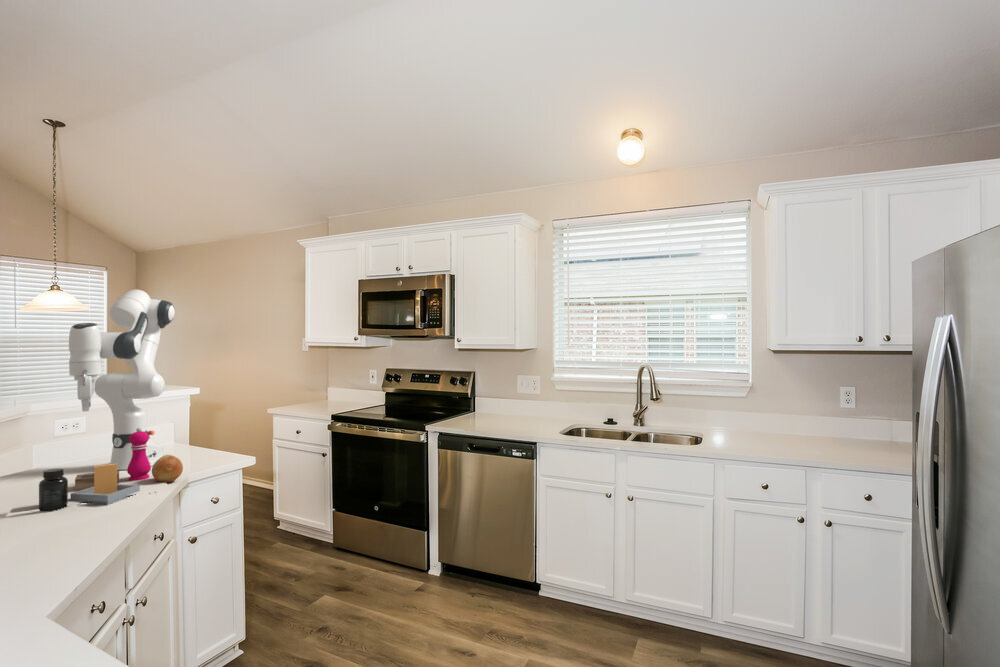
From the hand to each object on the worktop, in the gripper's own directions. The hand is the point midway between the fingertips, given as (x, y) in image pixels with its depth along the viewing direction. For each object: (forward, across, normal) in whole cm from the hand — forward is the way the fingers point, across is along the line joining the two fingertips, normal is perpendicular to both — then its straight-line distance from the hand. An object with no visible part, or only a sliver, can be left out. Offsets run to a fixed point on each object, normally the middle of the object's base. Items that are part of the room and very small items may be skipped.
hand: (86, 409), depth 180 cm
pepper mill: (+29, +4, -15) cm, 33 cm away
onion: (+29, -5, -23) cm, 37 cm away
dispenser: (+29, 0, -3) cm, 29 cm away
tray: (+28, -15, -5) cm, 32 cm away
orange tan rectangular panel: (+27, -15, -5) cm, 31 cm away
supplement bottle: (+28, -18, +8) cm, 34 cm away
